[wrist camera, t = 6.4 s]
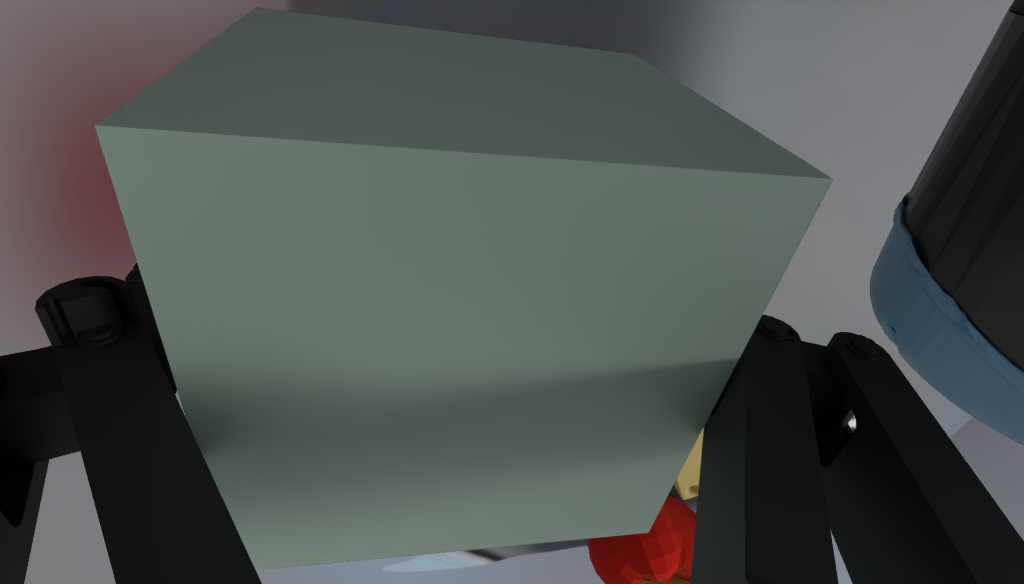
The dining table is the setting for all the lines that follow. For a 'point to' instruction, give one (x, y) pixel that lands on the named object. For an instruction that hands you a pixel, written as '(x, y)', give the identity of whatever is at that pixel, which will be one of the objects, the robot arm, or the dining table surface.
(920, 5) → the dining table surface
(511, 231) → the sage green cube
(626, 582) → the tomato
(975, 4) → the dining table surface
